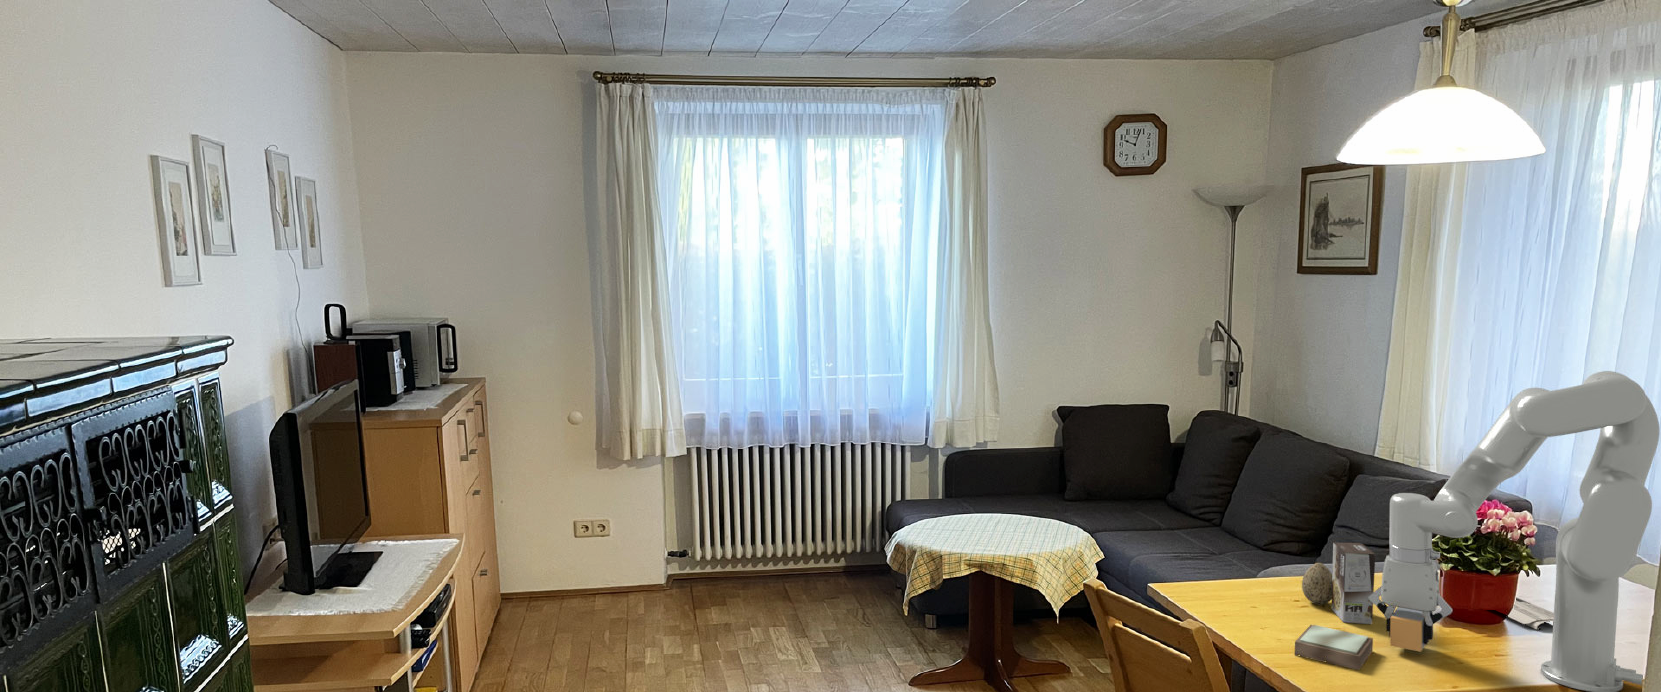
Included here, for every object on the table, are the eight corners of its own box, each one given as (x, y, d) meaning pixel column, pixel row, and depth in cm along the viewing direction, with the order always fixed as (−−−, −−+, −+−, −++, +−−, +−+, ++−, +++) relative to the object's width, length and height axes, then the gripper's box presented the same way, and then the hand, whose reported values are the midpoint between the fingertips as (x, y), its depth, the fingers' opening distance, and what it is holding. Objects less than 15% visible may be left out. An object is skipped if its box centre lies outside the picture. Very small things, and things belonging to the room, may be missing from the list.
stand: (1372, 651, 202) (1373, 636, 202) (1359, 670, 193) (1359, 654, 193) (1310, 637, 210) (1310, 622, 209) (1294, 654, 201) (1295, 639, 200)
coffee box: (1373, 624, 216) (1376, 554, 215) (1342, 622, 218) (1345, 552, 216) (1360, 610, 225) (1362, 542, 224) (1330, 608, 227) (1332, 541, 225)
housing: (1427, 639, 203) (1428, 611, 203) (1420, 651, 197) (1421, 622, 197) (1397, 633, 207) (1398, 606, 206) (1390, 645, 201) (1390, 617, 200)
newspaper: (1578, 630, 213) (1579, 614, 213) (1527, 633, 212) (1528, 618, 211) (1455, 578, 248) (1456, 565, 248) (1410, 581, 247) (1411, 567, 246)
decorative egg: (1339, 603, 230) (1340, 562, 229) (1329, 611, 225) (1330, 569, 224) (1307, 596, 235) (1308, 556, 234) (1296, 604, 230) (1298, 562, 229)
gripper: (1461, 556, 198) (1460, 642, 199) (1367, 543, 209) (1367, 624, 210) (1456, 565, 192) (1454, 654, 194) (1359, 551, 203) (1359, 635, 205)
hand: (1409, 637), depth 202 cm, fingers closed on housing, 5 cm apart
